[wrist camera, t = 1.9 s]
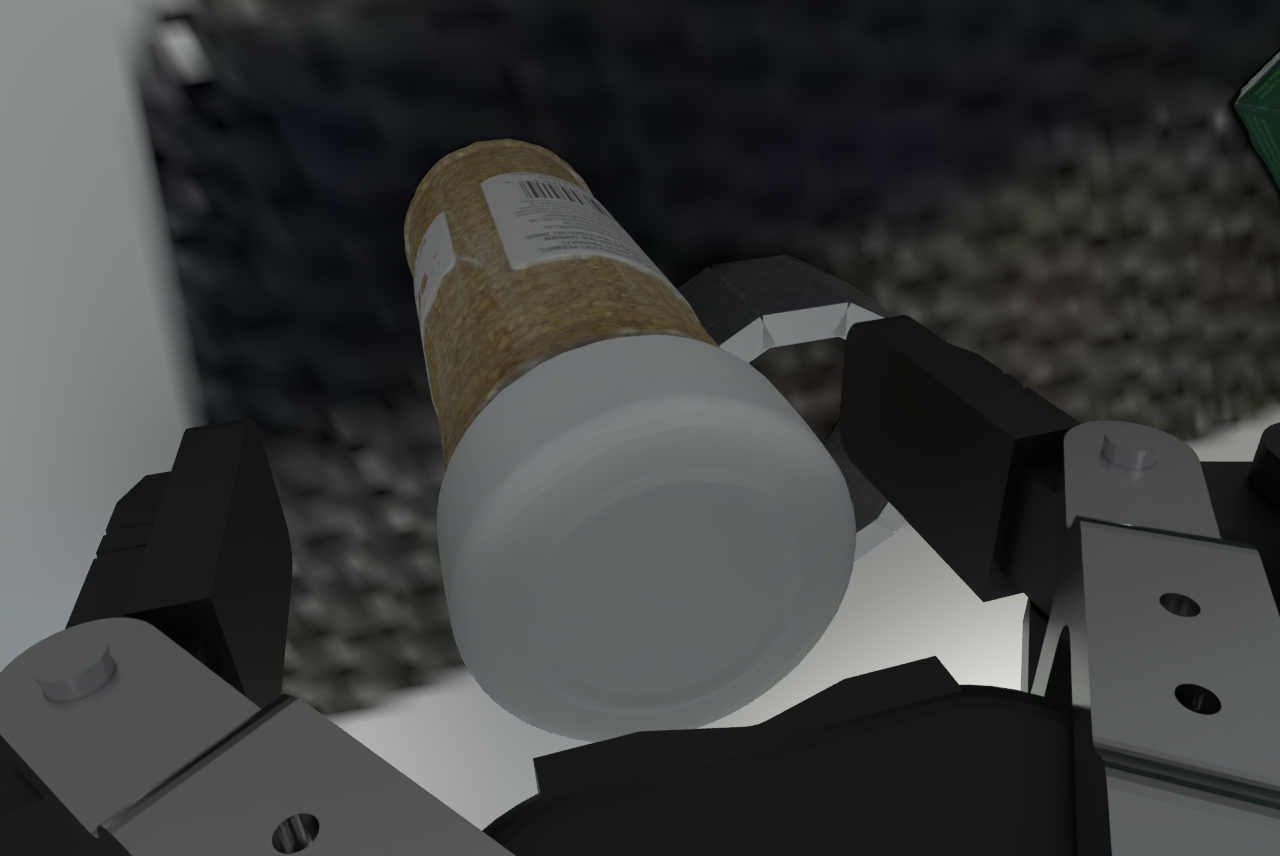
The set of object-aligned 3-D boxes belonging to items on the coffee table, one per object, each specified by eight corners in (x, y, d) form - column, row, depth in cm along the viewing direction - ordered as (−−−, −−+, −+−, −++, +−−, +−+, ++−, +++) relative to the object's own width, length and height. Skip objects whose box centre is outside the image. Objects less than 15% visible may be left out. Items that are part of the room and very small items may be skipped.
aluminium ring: (888, 239, 23) (964, 284, 20) (866, 488, 27) (927, 556, 24) (598, 280, 22) (634, 335, 19) (618, 538, 26) (651, 617, 23)
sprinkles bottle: (360, 239, 20) (346, 647, 8) (501, 88, 19) (694, 311, 8) (509, 362, 22) (655, 812, 11) (640, 231, 21) (945, 566, 10)
